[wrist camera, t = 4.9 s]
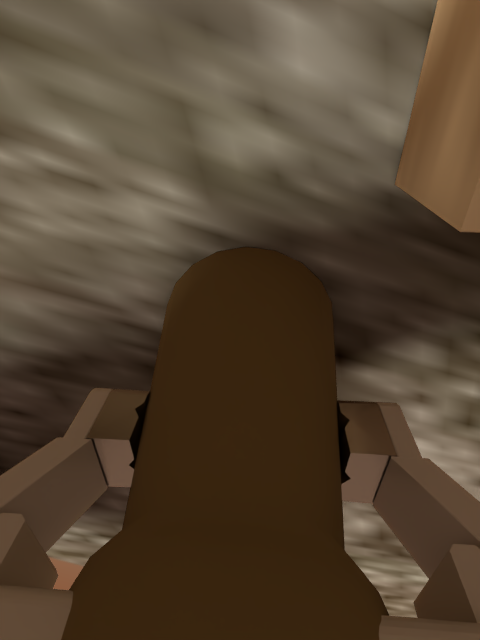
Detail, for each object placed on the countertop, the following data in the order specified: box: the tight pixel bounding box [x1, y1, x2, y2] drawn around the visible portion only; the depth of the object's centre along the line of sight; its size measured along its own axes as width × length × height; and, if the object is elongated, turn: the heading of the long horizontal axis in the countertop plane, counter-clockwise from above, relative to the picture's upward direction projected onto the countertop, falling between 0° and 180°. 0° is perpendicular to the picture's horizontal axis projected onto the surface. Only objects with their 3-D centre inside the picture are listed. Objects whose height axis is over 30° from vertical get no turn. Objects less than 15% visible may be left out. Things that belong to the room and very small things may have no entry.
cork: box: [61, 247, 389, 640], centre depth 8 cm, size 6×6×11 cm
